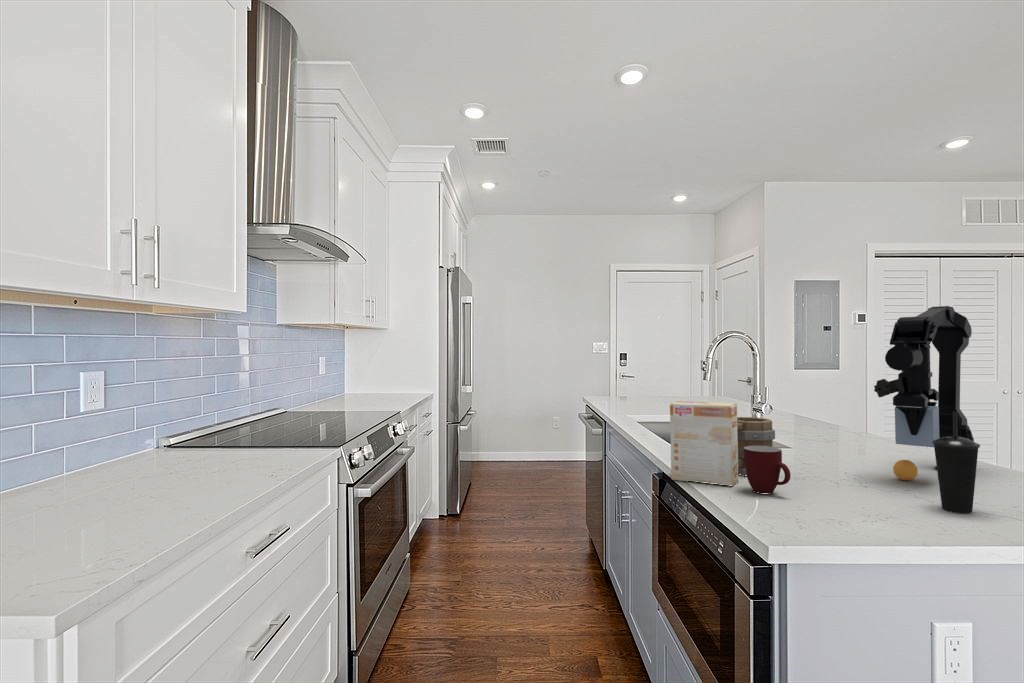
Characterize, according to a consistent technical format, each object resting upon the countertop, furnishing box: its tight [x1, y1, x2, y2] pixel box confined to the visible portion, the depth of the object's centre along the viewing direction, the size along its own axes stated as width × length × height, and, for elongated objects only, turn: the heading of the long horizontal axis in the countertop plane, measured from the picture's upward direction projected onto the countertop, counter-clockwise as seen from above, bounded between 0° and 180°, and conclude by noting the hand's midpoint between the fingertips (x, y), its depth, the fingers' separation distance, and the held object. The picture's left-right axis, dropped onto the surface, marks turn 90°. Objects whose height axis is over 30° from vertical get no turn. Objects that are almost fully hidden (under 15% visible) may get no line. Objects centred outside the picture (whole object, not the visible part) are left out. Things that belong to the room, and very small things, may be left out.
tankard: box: [737, 416, 776, 476], centre depth 149 cm, size 20×13×15 cm, turn 123°
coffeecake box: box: [669, 400, 739, 486], centre depth 141 cm, size 15×7×20 cm, turn 57°
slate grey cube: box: [894, 405, 939, 448], centre depth 136 cm, size 8×8×9 cm
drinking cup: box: [932, 411, 981, 514], centre depth 114 cm, size 8×8×20 cm
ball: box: [892, 459, 919, 481], centre depth 139 cm, size 5×5×5 cm
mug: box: [744, 446, 791, 494], centre depth 129 cm, size 11×8×10 cm
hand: (917, 432), depth 136 cm, fingers closed on slate grey cube, 7 cm apart
